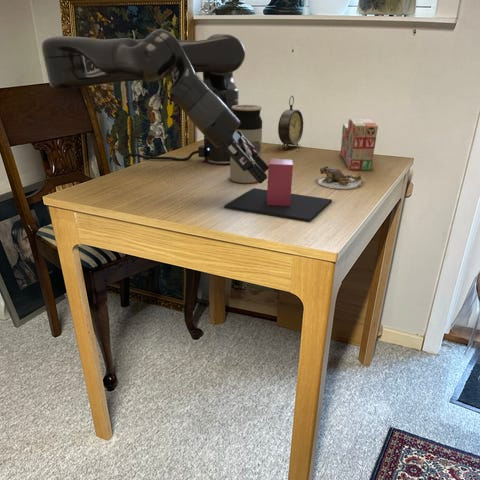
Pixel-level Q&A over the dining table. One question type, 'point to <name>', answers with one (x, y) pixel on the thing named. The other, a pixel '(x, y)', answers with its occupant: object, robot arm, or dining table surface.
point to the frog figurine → (339, 179)
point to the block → (279, 182)
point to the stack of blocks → (358, 143)
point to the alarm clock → (290, 126)
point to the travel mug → (252, 132)
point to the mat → (298, 209)
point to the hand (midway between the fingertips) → (265, 175)
